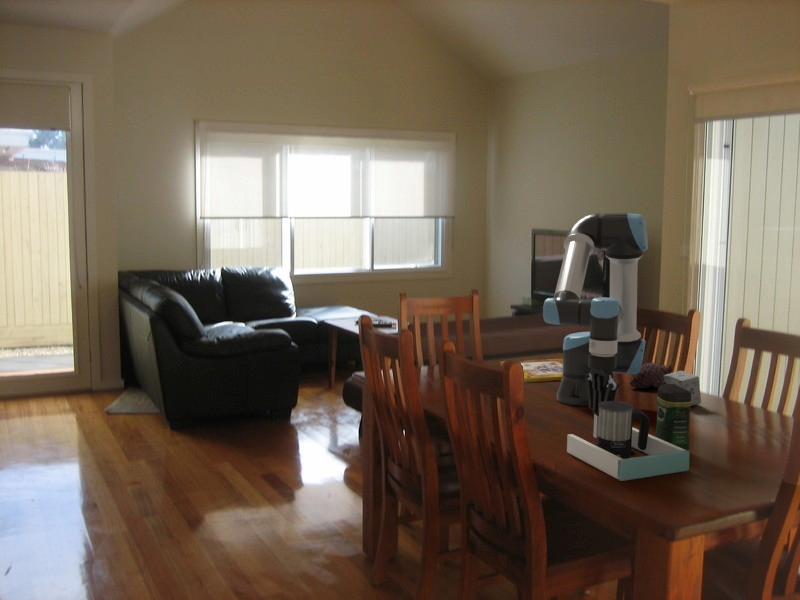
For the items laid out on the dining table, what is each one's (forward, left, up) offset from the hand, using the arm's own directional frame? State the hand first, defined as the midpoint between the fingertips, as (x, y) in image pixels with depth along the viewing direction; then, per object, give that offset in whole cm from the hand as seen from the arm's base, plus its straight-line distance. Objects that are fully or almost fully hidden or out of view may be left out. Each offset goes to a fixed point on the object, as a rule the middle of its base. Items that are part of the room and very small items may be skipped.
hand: (598, 436), depth 236 cm
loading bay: (+11, +1, -3) cm, 12 cm away
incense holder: (-30, +54, -4) cm, 61 cm away
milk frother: (+6, +1, -3) cm, 7 cm away
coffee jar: (+9, +18, -4) cm, 20 cm away
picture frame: (-89, +37, -4) cm, 96 cm away
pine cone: (-52, +59, -4) cm, 79 cm away
